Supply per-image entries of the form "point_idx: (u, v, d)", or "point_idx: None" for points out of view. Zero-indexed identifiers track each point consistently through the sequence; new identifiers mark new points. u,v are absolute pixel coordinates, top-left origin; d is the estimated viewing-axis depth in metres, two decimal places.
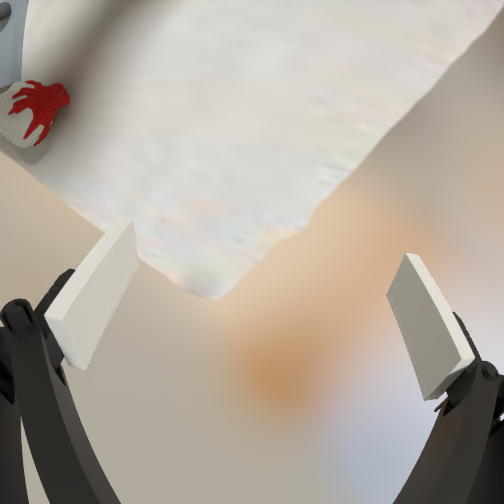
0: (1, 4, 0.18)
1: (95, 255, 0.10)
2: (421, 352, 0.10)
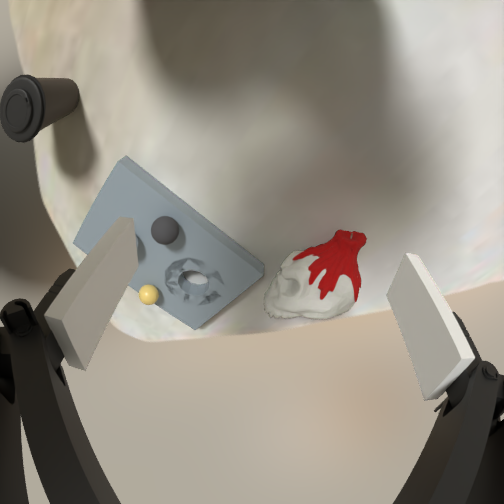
0: (160, 224, 0.34)
1: (95, 255, 0.10)
2: (421, 352, 0.10)
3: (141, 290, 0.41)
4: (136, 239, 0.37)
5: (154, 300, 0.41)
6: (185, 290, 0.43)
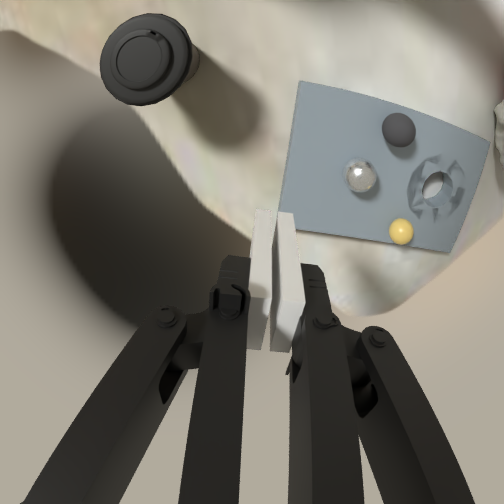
0: (396, 119, 0.23)
1: (262, 242, 0.12)
2: (273, 302, 0.12)
3: (394, 228, 0.30)
4: None
5: (413, 232, 0.30)
6: (431, 205, 0.31)
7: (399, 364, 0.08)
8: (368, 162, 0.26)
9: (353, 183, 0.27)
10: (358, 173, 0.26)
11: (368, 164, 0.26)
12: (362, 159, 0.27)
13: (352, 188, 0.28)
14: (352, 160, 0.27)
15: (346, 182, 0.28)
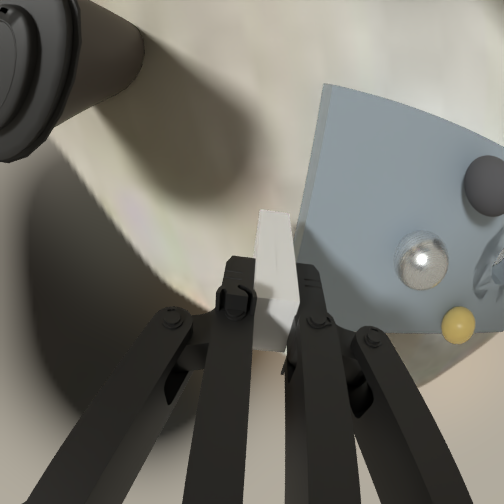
0: (496, 172, 0.11)
1: (266, 242, 0.12)
2: None
3: (452, 326, 0.18)
4: (440, 238, 0.15)
5: (474, 328, 0.18)
6: (497, 282, 0.19)
7: (394, 364, 0.08)
8: (441, 242, 0.14)
9: (414, 281, 0.15)
10: (425, 267, 0.14)
11: (441, 247, 0.14)
12: (432, 237, 0.14)
13: (409, 286, 0.15)
14: (415, 239, 0.15)
15: (401, 276, 0.15)
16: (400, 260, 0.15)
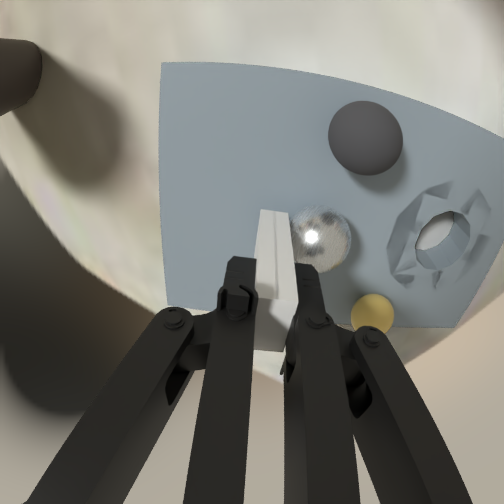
0: (356, 115, 0.11)
1: (267, 242, 0.12)
2: None
3: (358, 316, 0.18)
4: None
5: (392, 320, 0.18)
6: (430, 266, 0.18)
7: (393, 364, 0.08)
8: (337, 213, 0.14)
9: (332, 267, 0.14)
10: (342, 249, 0.14)
11: (342, 219, 0.14)
12: (330, 214, 0.14)
13: (322, 272, 0.15)
14: (316, 226, 0.14)
15: None
16: (310, 256, 0.14)
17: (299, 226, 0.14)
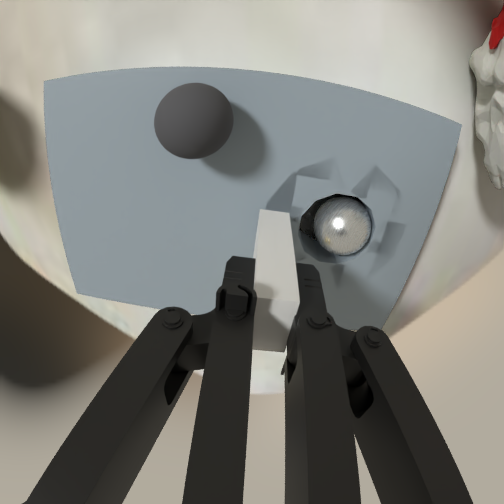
0: (166, 100, 0.11)
1: (266, 242, 0.12)
2: None
3: None
4: None
5: None
6: (328, 260, 0.18)
7: (394, 364, 0.08)
8: (359, 204, 0.16)
9: (350, 251, 0.17)
10: (358, 235, 0.16)
11: (363, 210, 0.16)
12: (351, 205, 0.16)
13: (343, 254, 0.17)
14: (338, 213, 0.16)
15: (335, 251, 0.17)
16: (330, 238, 0.16)
17: (324, 213, 0.16)
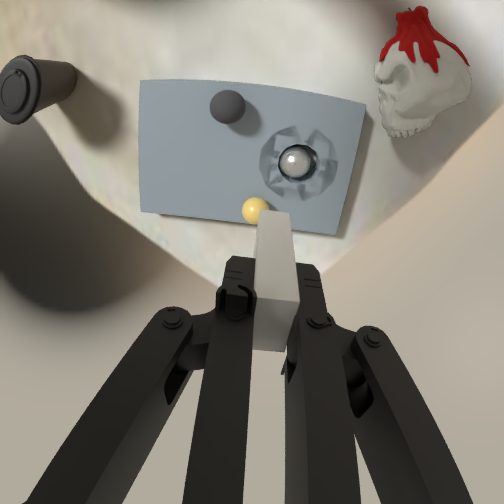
0: (217, 96, 0.25)
1: (266, 242, 0.12)
2: None
3: (243, 208, 0.32)
4: (302, 148, 0.31)
5: None
6: (295, 182, 0.33)
7: (394, 364, 0.08)
8: (301, 149, 0.31)
9: (290, 171, 0.31)
10: (293, 162, 0.30)
11: (300, 152, 0.30)
12: (294, 148, 0.31)
13: (290, 175, 0.32)
14: (286, 151, 0.31)
15: (284, 171, 0.32)
16: (281, 163, 0.31)
17: None
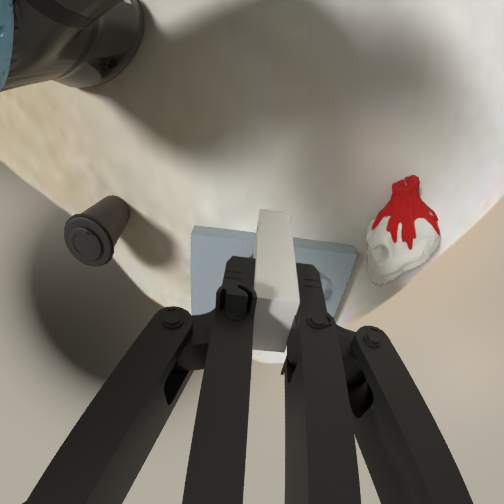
0: None
1: (266, 242, 0.12)
2: None
3: None
4: None
5: None
6: None
7: (394, 364, 0.08)
8: None
9: None
10: None
11: None
12: None
13: None
14: None
15: None
16: None
17: None
